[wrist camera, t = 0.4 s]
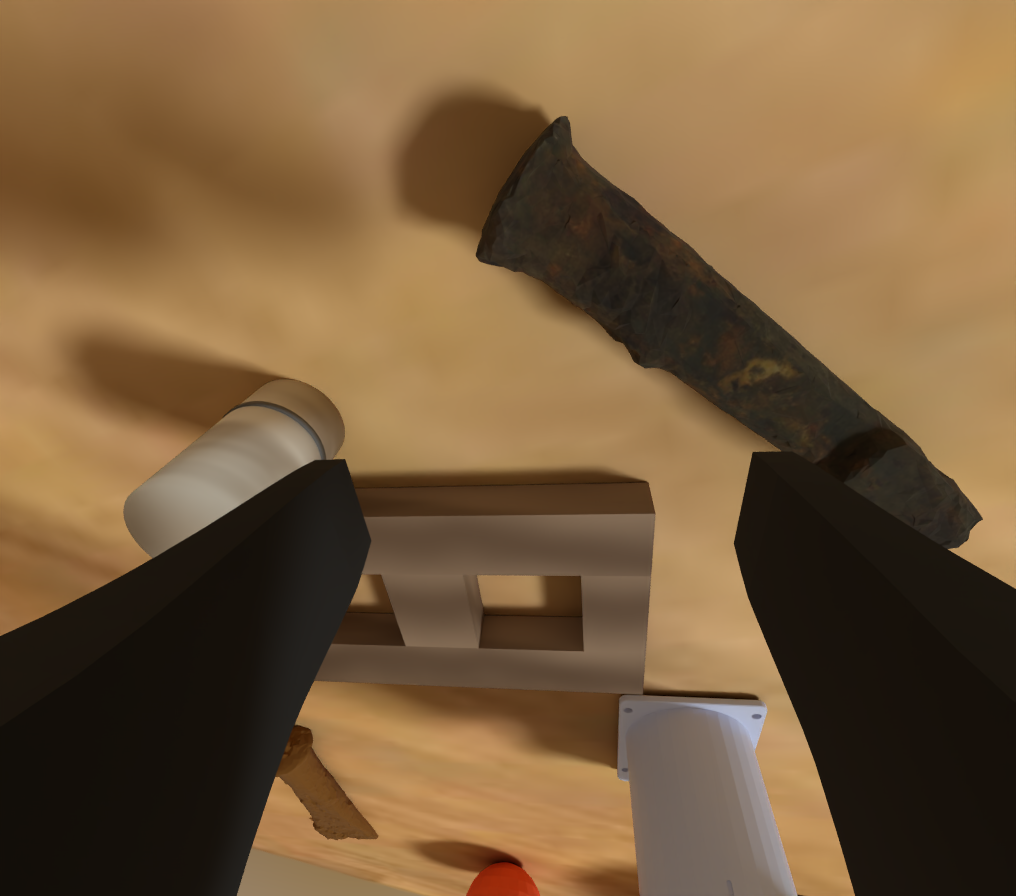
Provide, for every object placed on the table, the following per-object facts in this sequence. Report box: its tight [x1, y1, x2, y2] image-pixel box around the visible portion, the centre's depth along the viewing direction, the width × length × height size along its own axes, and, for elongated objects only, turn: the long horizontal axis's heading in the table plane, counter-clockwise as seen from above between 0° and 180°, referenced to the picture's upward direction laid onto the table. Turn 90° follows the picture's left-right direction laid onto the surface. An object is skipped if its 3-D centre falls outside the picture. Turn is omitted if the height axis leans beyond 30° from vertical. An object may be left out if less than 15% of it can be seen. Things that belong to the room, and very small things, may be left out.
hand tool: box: [476, 116, 983, 549], centre depth 15 cm, size 19×4×5 cm, turn 54°
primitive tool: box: [275, 726, 378, 840], centre depth 39 cm, size 19×6×4 cm, turn 6°
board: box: [314, 482, 655, 695], centre depth 24 cm, size 12×20×2 cm, turn 96°
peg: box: [123, 379, 345, 558], centre depth 18 cm, size 4×4×7 cm
